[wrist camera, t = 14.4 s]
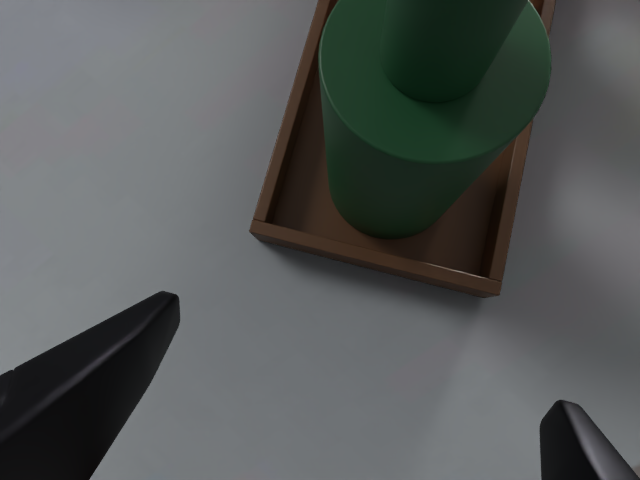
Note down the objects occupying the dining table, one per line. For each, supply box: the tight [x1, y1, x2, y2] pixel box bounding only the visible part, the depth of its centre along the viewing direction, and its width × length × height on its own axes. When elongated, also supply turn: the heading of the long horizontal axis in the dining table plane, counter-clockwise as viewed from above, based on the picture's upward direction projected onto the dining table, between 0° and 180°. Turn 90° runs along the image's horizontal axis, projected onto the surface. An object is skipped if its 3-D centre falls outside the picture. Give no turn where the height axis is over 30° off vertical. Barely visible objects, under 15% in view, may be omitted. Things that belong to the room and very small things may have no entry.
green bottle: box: [318, 0, 551, 239], centre depth 14 cm, size 6×6×14 cm
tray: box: [249, 0, 556, 298], centre depth 22 cm, size 28×11×2 cm, turn 165°
